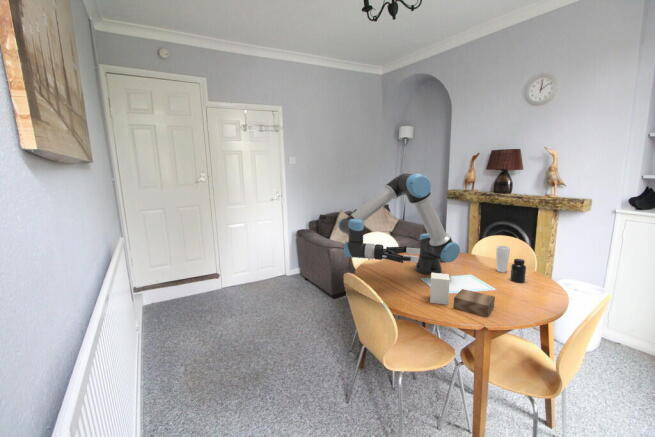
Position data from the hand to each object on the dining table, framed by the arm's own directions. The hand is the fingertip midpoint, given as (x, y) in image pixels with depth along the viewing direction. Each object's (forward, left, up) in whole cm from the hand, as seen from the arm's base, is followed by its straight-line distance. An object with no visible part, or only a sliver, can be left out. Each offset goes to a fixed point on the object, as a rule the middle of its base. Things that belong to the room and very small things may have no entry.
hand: (419, 255), depth 146 cm
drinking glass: (+24, +66, -21) cm, 74 cm away
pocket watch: (-11, +65, -22) cm, 70 cm away
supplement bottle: (+34, +54, -21) cm, 68 cm away
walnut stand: (+24, +5, -21) cm, 33 cm away
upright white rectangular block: (+9, +3, -21) cm, 23 cm away
